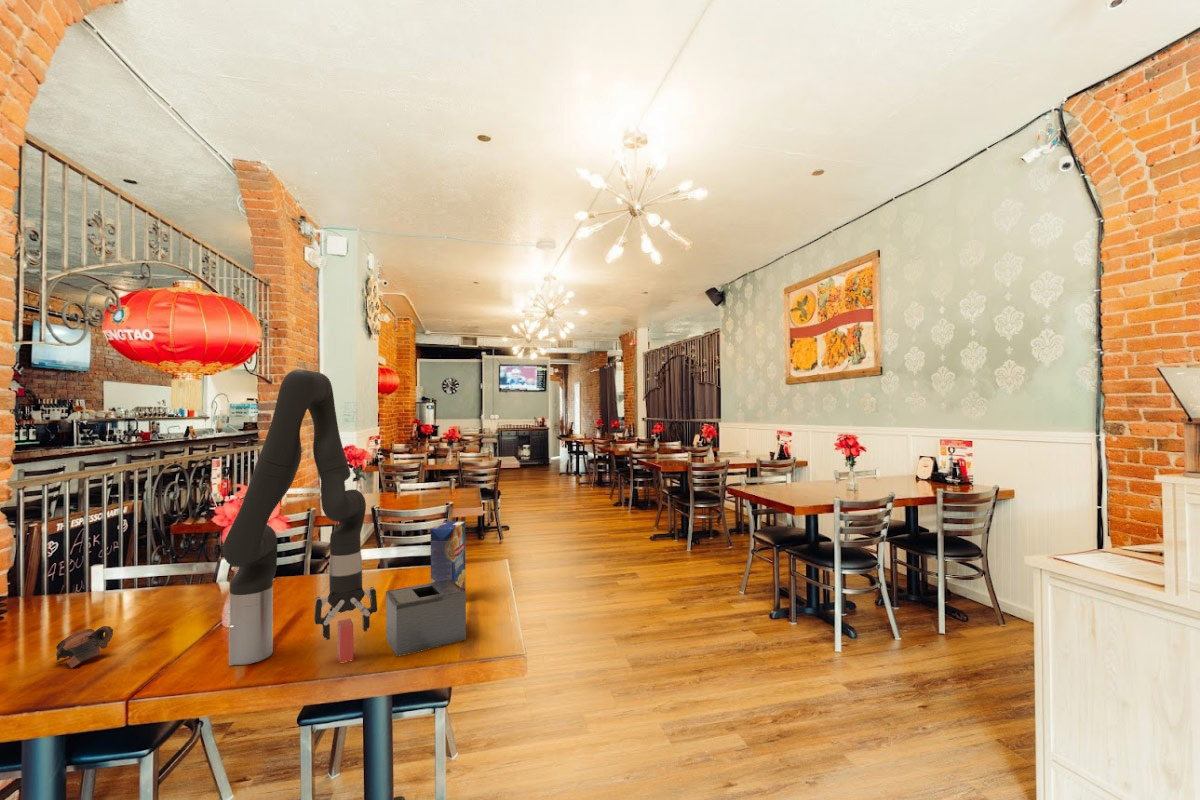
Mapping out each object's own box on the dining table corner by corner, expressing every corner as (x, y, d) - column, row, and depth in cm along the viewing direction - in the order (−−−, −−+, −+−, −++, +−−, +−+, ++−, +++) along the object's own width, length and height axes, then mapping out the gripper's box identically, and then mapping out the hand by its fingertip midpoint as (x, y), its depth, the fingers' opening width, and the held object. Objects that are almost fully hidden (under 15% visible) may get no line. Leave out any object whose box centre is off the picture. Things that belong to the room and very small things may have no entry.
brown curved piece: (55, 678, 128) (40, 651, 130) (83, 678, 137) (69, 652, 139) (109, 640, 133) (94, 614, 135) (133, 643, 141) (119, 618, 144)
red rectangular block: (340, 664, 132) (340, 627, 132) (337, 656, 136) (337, 620, 137) (353, 660, 134) (353, 624, 134) (350, 653, 138) (350, 618, 138)
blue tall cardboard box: (453, 604, 172) (452, 529, 172) (430, 603, 173) (430, 529, 173) (465, 591, 184) (465, 521, 184) (444, 591, 185) (444, 521, 185)
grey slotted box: (396, 657, 136) (396, 605, 136) (386, 638, 147) (386, 591, 147) (465, 640, 145) (465, 592, 145) (451, 624, 156) (451, 579, 156)
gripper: (315, 579, 129) (316, 647, 128) (378, 568, 136) (379, 632, 136) (312, 571, 135) (313, 636, 135) (373, 561, 143) (374, 623, 142)
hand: (346, 634), depth 135 cm, fingers open, 8 cm apart
